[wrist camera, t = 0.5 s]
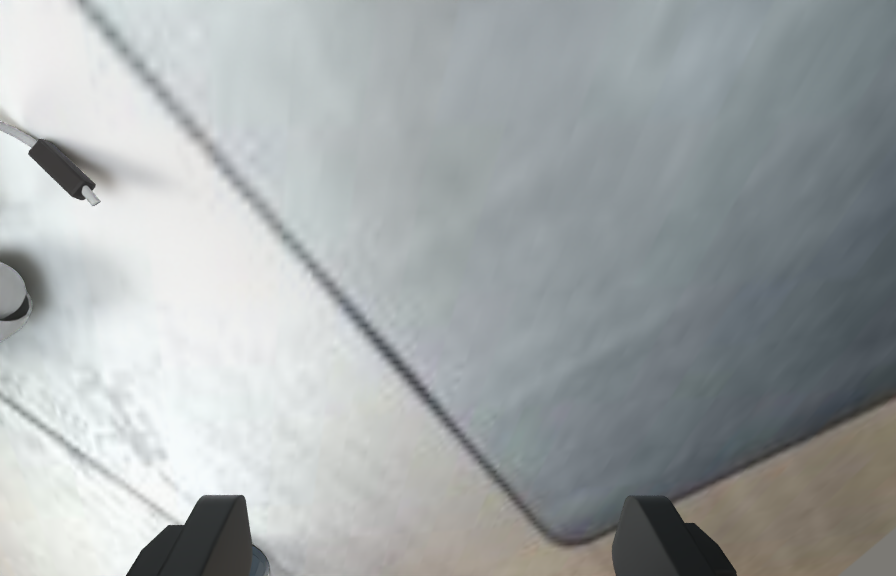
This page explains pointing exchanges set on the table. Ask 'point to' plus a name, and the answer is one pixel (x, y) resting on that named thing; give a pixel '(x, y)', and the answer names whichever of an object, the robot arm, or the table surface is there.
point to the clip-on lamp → (3, 290)
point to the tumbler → (258, 563)
